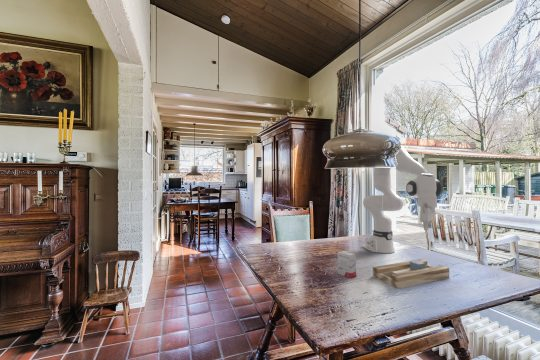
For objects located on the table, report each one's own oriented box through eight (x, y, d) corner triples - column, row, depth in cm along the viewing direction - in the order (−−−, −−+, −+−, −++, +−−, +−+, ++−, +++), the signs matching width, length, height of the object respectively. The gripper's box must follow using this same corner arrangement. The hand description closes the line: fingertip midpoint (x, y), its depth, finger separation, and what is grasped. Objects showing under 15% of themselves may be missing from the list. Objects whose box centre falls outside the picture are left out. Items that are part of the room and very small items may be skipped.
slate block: (410, 269, 134) (409, 261, 134) (417, 267, 136) (416, 260, 136) (418, 272, 129) (418, 264, 129) (425, 270, 131) (425, 263, 131)
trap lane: (373, 276, 133) (372, 267, 133) (420, 267, 144) (420, 258, 144) (398, 288, 117) (397, 277, 117) (449, 277, 129) (449, 267, 129)
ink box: (356, 276, 133) (356, 254, 133) (350, 278, 130) (350, 255, 130) (343, 271, 140) (343, 250, 140) (337, 273, 138) (337, 252, 138)
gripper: (430, 204, 127) (431, 232, 127) (436, 202, 143) (437, 227, 142) (416, 204, 131) (417, 231, 131) (423, 202, 147) (424, 226, 146)
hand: (427, 229), depth 136 cm, fingers open, 8 cm apart
